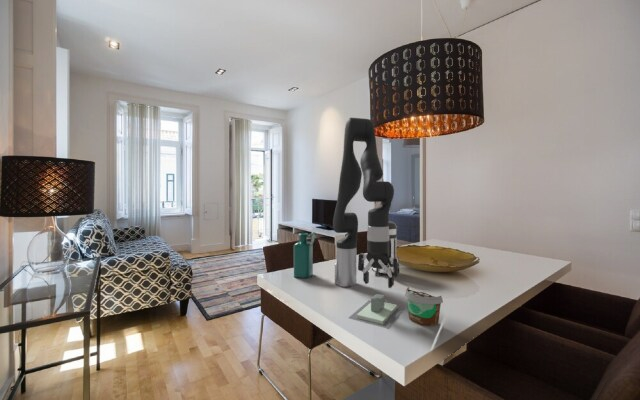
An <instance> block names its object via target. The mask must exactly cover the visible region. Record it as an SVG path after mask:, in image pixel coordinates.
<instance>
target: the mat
mask: <svg viewBox="0 0 640 400" xmlns="http://www.w3.org/2000/svg"><path fill="white" fill-rule="evenodd" d="M369 303H371V299H369V300H368V301H367V302H365V303H364V304H362V306H360V307H359V308H358V309H357V310H356V311H355V312H353V313H352V314H351V315H350V316H348V319H350V320H354V321H357V322H362V323H364V324H369V325H373V326H377V327H380V328H384V329H389V330H390V328H391V327H392V326H393V324H394V323H395V321H397V319H398V318H399V317H400V316H401V314H402V313H403V311H405V309H406V308H405V307H403V306H402V307H401V306H397V309H396V310H395V311H394V312H393V313H392V315H391V316H390V317H389V318H388V319H387V320H386V322H385V323H384V324H383V325H381V324H378V323H374V322H370V321H366V320H362V319H359V318H357V314H358V313H359V312H360V311H361V310H363V309H364V308H365V307H366V306H367V305H368V304H369Z"/></svg>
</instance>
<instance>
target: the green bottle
mask: <svg viewBox="0 0 640 400" xmlns="http://www.w3.org/2000/svg"><path fill="white" fill-rule="evenodd" d="M297 234H298V235H297V236H299V241H297V242H296V243H294V245H293V277H295V278H298V277H301V278H302V279H308V278H310V277H311V276H312V275H313V274H314V273H313V271H314V268H313V267H314V263H313V262H314V258H313V256H314V254H313V251H314V250H313V249H314V248H313V247H314V246H313V244H314V242H315V237H316V233H315V232H311V233H308V232H299V233H297ZM308 237H310V241H308ZM301 278H300V279H301Z"/></svg>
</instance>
